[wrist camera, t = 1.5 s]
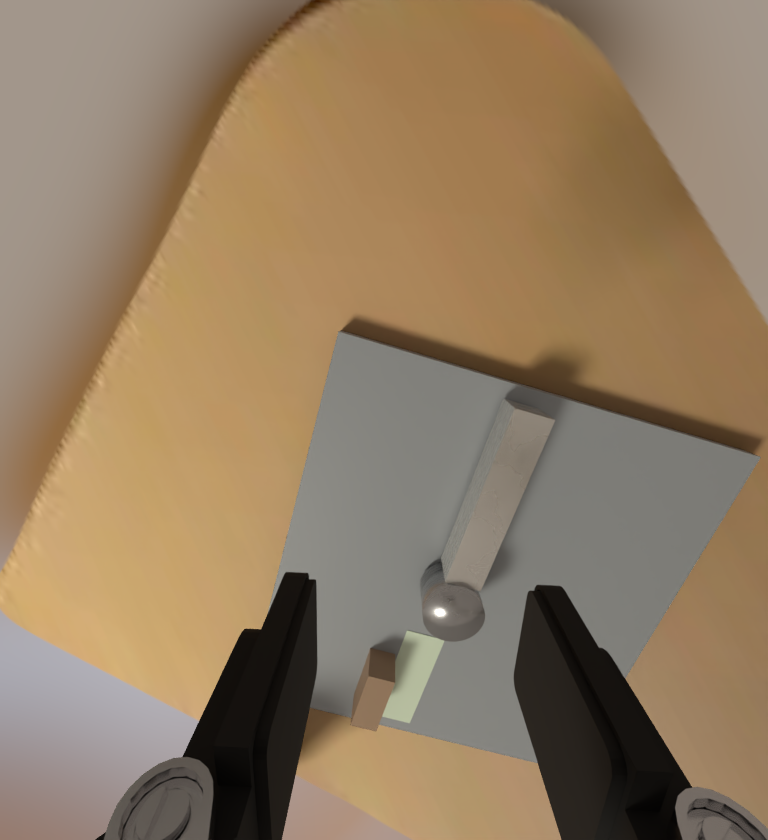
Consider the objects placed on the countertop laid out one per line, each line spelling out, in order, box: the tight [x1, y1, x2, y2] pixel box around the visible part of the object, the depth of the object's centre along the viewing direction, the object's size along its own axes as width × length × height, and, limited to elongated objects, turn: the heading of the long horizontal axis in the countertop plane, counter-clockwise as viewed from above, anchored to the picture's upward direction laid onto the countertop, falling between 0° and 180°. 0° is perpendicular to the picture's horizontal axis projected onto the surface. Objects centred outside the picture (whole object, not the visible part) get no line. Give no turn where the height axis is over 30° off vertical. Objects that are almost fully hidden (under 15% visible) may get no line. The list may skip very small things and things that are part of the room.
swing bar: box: [420, 398, 555, 642], centre depth 25 cm, size 16×4×3 cm, turn 164°
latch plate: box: [268, 330, 761, 763], centre depth 28 cm, size 28×30×4 cm
